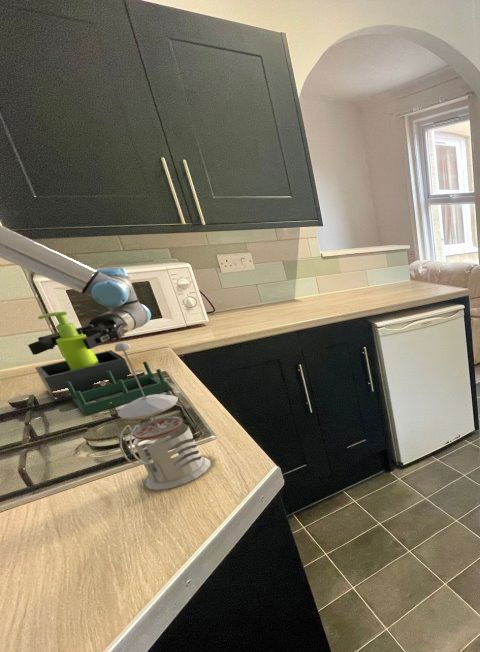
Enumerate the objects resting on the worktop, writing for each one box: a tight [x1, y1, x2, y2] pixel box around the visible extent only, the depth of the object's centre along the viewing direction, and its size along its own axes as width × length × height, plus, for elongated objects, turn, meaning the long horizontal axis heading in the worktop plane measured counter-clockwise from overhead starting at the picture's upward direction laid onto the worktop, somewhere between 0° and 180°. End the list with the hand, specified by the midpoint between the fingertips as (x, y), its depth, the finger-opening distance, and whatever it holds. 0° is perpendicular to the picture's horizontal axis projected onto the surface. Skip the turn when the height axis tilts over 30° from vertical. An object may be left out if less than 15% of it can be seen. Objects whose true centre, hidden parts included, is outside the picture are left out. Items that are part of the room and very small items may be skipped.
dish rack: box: [65, 361, 171, 416], centre depth 109 cm, size 17×12×6 cm
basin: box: [34, 349, 132, 403], centre depth 116 cm, size 16×14×7 cm
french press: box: [114, 341, 211, 491], centre depth 71 cm, size 10×12×25 cm
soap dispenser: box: [37, 311, 99, 370], centre depth 113 cm, size 6×7×20 cm
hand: (59, 347), depth 109 cm, fingers open, 11 cm apart
